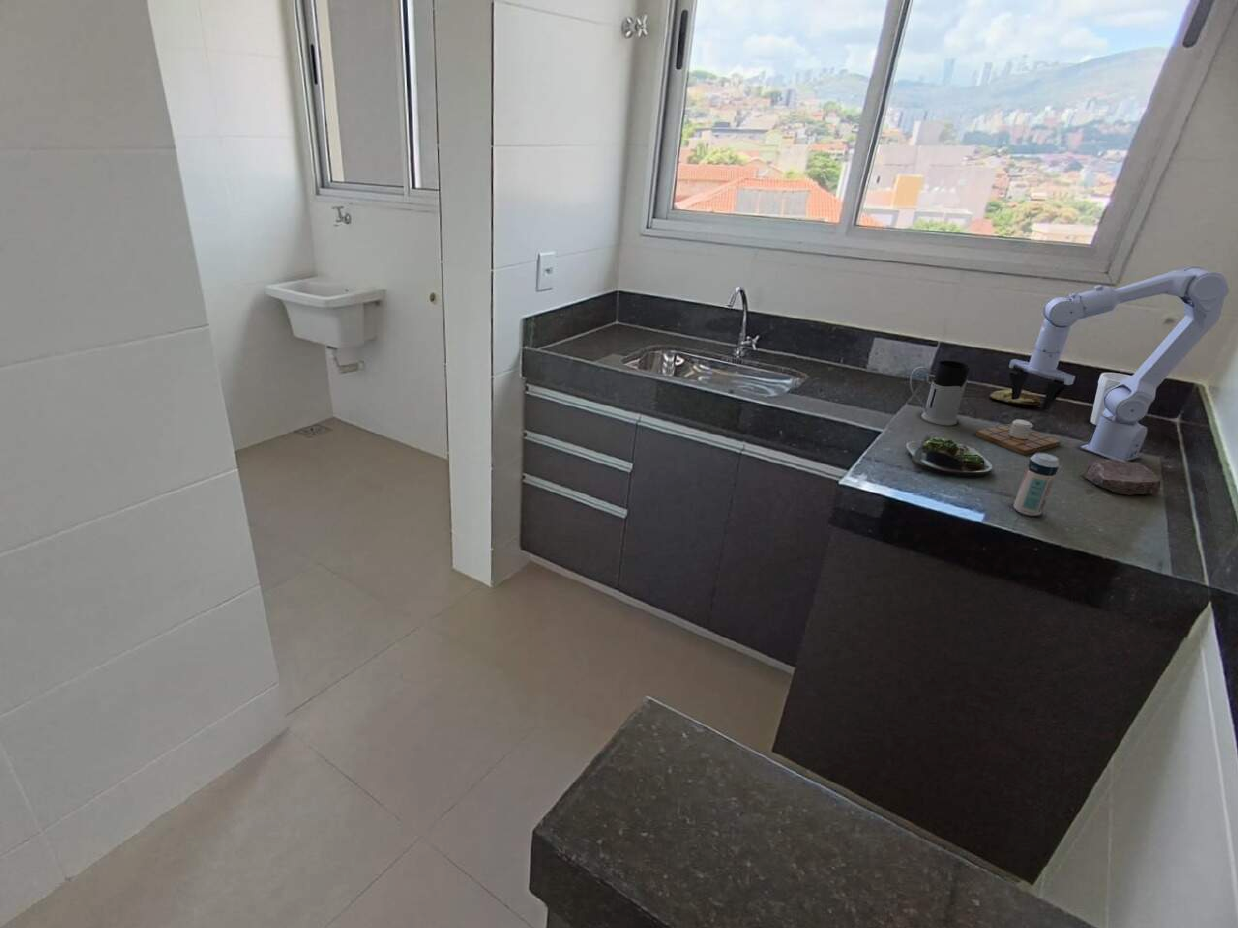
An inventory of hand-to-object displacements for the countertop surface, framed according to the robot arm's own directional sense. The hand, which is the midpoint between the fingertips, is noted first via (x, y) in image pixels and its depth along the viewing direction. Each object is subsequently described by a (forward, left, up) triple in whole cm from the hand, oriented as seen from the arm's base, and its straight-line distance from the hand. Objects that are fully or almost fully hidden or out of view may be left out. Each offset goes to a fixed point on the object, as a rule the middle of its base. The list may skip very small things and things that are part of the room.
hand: (1029, 403), depth 161 cm
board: (-1, +2, -9) cm, 9 cm away
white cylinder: (-1, +2, -8) cm, 8 cm away
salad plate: (-2, +31, -10) cm, 33 cm away
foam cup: (-3, -34, -10) cm, 35 cm away
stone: (-26, +5, -10) cm, 28 cm away
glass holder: (+19, +10, -10) cm, 23 cm away
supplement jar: (-24, +36, -10) cm, 44 cm away
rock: (+18, -27, -10) cm, 34 cm away
